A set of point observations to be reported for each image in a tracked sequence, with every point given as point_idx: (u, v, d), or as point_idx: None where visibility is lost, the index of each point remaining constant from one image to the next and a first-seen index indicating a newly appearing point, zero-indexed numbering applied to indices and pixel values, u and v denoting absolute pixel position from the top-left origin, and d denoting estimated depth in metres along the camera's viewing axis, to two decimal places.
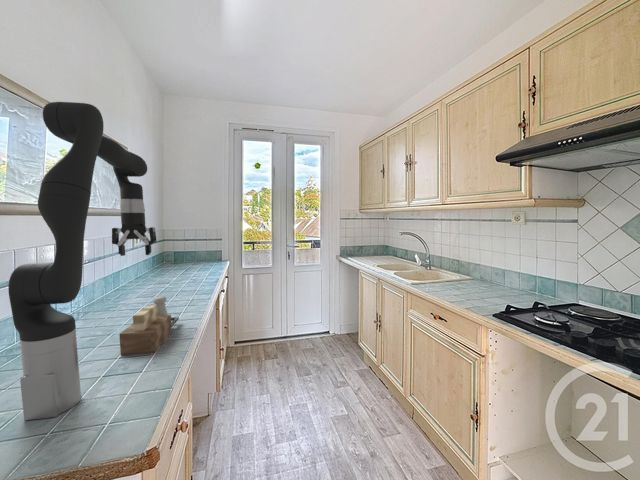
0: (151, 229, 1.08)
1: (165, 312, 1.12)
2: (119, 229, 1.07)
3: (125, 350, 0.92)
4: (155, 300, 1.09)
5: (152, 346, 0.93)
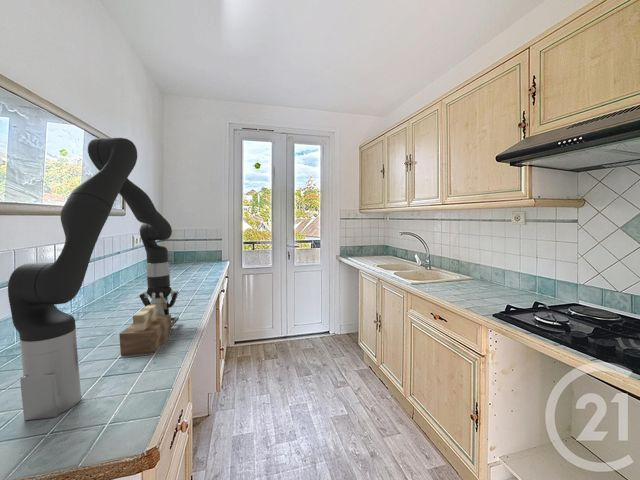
0: (175, 295, 1.11)
1: None
2: (145, 293, 1.10)
3: (125, 350, 0.92)
4: (155, 300, 1.09)
5: (152, 346, 0.93)
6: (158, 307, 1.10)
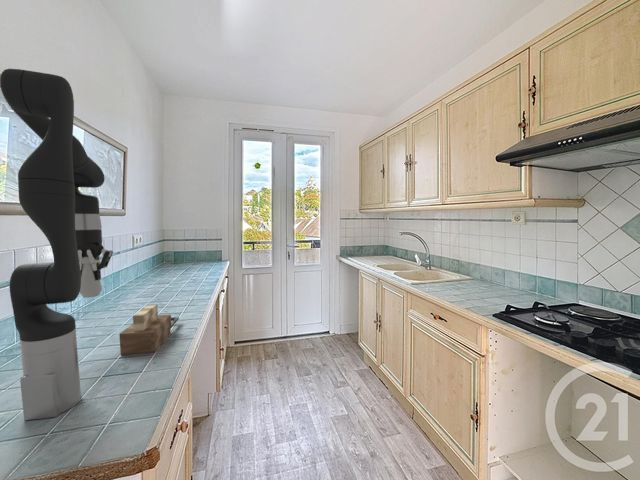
0: (107, 253, 0.93)
1: None
2: None
3: (125, 350, 0.92)
4: (82, 259, 0.91)
5: (152, 346, 0.93)
6: (86, 268, 0.92)
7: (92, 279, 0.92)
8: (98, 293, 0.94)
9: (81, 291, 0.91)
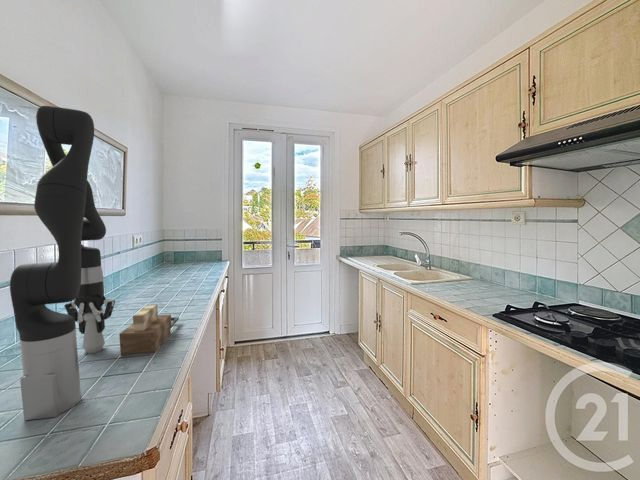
0: (109, 304, 0.94)
1: None
2: (72, 303, 0.93)
3: (125, 350, 0.92)
4: (85, 316, 0.92)
5: (152, 346, 0.93)
6: (89, 324, 0.93)
7: (95, 335, 0.93)
8: (101, 347, 0.95)
9: (84, 347, 0.92)
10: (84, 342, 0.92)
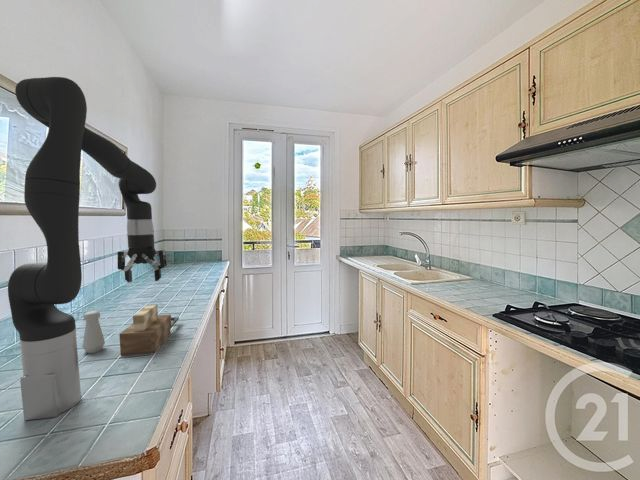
0: (161, 252, 0.97)
1: (98, 330, 0.94)
2: (125, 252, 0.96)
3: (125, 350, 0.92)
4: (85, 316, 0.92)
5: (152, 346, 0.93)
6: (89, 324, 0.93)
7: (95, 335, 0.93)
8: (101, 347, 0.95)
9: (84, 347, 0.92)
10: (84, 342, 0.92)
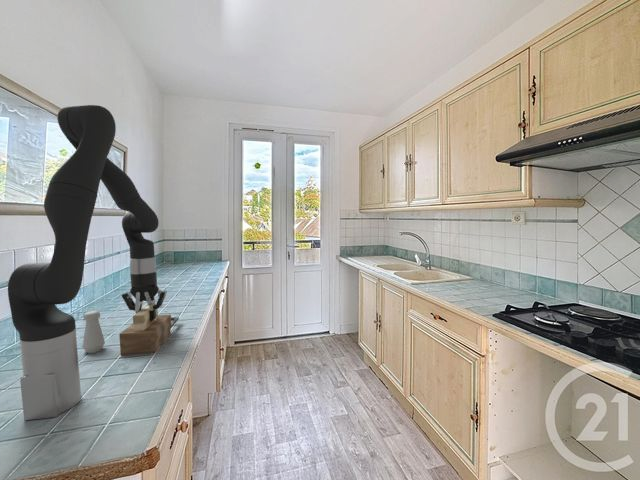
0: (162, 294, 0.98)
1: (98, 330, 0.94)
2: (129, 292, 0.97)
3: (125, 350, 0.92)
4: (85, 316, 0.92)
5: (152, 346, 0.93)
6: (89, 324, 0.93)
7: (95, 335, 0.93)
8: (101, 347, 0.95)
9: (84, 347, 0.92)
10: (84, 342, 0.92)
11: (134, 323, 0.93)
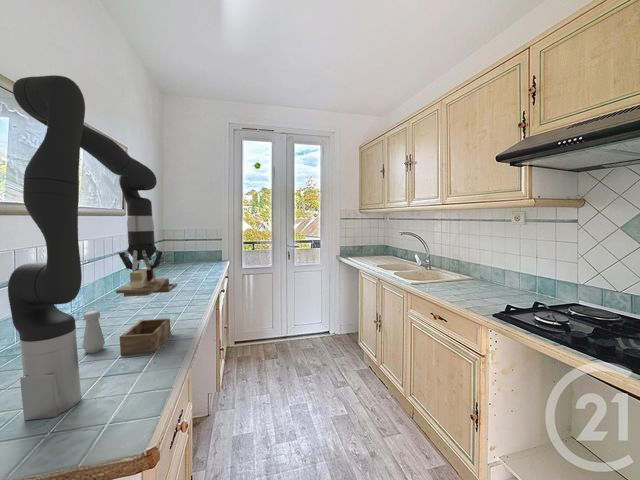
0: (160, 254, 0.97)
1: (98, 330, 0.94)
2: (126, 251, 0.96)
3: (125, 350, 0.92)
4: (85, 316, 0.92)
5: (152, 346, 0.93)
6: (89, 324, 0.93)
7: (95, 335, 0.93)
8: (101, 347, 0.95)
9: (84, 347, 0.92)
10: (84, 342, 0.92)
11: (131, 280, 0.92)
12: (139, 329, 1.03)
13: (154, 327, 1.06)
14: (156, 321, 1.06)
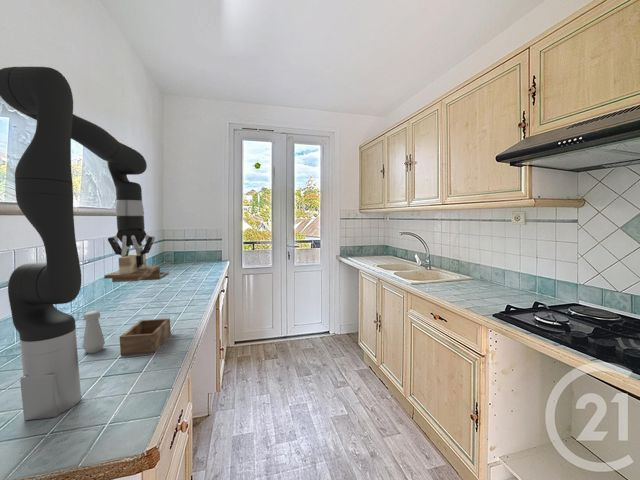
0: (150, 239, 0.95)
1: (98, 330, 0.94)
2: (115, 236, 0.94)
3: (125, 350, 0.92)
4: (85, 316, 0.92)
5: (152, 346, 0.93)
6: (89, 324, 0.93)
7: (95, 335, 0.93)
8: (101, 347, 0.95)
9: (84, 347, 0.92)
10: (84, 342, 0.92)
11: (120, 265, 0.90)
12: (139, 329, 1.03)
13: (154, 327, 1.06)
14: (156, 321, 1.06)
